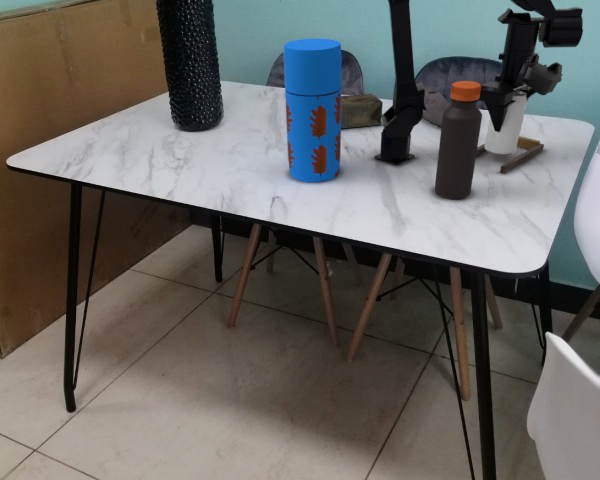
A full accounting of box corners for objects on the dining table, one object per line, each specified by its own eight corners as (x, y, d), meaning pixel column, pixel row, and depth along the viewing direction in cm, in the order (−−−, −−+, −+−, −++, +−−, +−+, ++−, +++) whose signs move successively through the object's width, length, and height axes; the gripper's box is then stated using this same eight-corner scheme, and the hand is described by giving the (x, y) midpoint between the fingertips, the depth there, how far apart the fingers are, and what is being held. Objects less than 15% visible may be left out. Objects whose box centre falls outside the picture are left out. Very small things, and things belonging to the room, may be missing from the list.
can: (508, 157, 118) (522, 97, 112) (478, 150, 121) (491, 92, 115) (519, 150, 123) (533, 92, 116) (490, 144, 126) (502, 87, 119)
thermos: (347, 166, 122) (350, 40, 107) (328, 185, 114) (328, 52, 99) (301, 160, 126) (297, 37, 111) (279, 178, 118) (272, 48, 103)
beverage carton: (383, 125, 143) (384, 98, 139) (308, 133, 140) (307, 106, 136) (372, 116, 149) (374, 90, 145) (301, 123, 146) (300, 97, 142)
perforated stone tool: (458, 130, 138) (462, 101, 134) (438, 133, 137) (441, 103, 133) (431, 112, 150) (434, 85, 146) (413, 115, 149) (415, 87, 145)
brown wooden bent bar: (504, 173, 116) (506, 164, 115) (461, 161, 122) (462, 152, 121) (542, 150, 126) (544, 141, 125) (501, 140, 132) (502, 132, 130)
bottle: (477, 191, 109) (494, 83, 98) (458, 203, 106) (473, 92, 94) (446, 182, 113) (459, 77, 102) (427, 193, 110) (438, 85, 98)
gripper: (536, 63, 100) (519, 149, 109) (581, 45, 111) (562, 124, 120) (480, 54, 107) (468, 136, 116) (527, 38, 118) (513, 114, 127)
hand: (505, 127), depth 119 cm, fingers closed on can, 6 cm apart
